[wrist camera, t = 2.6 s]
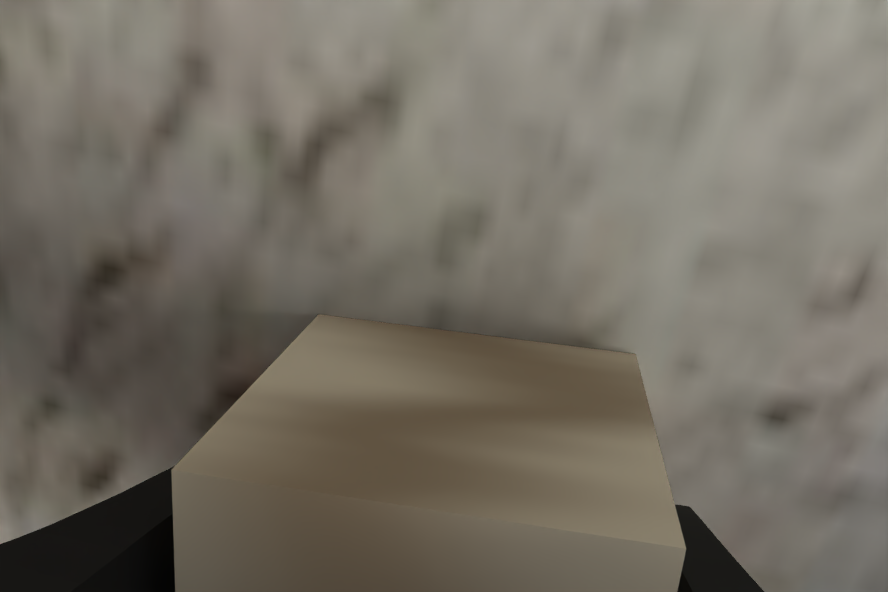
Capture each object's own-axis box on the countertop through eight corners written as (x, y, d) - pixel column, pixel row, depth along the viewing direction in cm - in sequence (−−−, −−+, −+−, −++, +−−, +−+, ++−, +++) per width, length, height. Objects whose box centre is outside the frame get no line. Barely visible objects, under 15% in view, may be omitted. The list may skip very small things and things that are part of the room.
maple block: (634, 351, 12) (686, 548, 7) (590, 618, 13) (606, 928, 9) (320, 312, 12) (171, 469, 8) (311, 572, 14) (182, 839, 9)
